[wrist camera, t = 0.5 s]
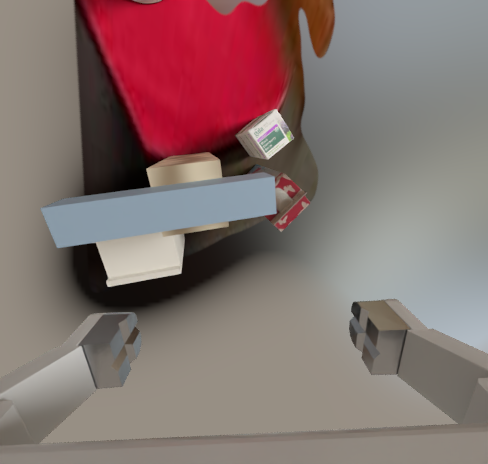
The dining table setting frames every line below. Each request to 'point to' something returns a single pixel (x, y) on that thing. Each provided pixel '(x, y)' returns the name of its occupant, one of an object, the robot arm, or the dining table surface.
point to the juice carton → (284, 198)
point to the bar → (159, 208)
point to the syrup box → (265, 135)
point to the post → (186, 178)
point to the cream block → (141, 257)
